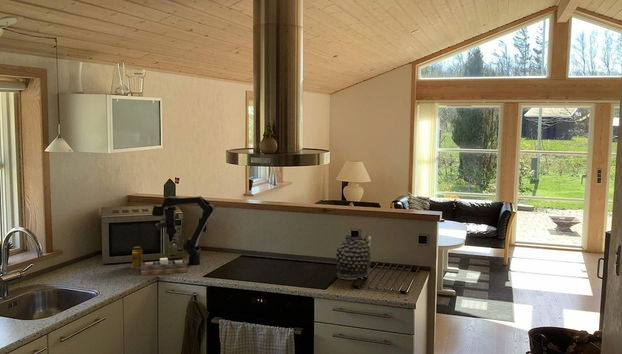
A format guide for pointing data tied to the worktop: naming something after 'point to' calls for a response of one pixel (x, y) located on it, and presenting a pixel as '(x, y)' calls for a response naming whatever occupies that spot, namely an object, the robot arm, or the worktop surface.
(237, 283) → the worktop surface
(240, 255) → the worktop surface
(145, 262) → the key terracotta
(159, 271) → the keypad
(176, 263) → the key sage
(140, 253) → the condiment
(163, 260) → the key cream
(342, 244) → the pine cone figurine
